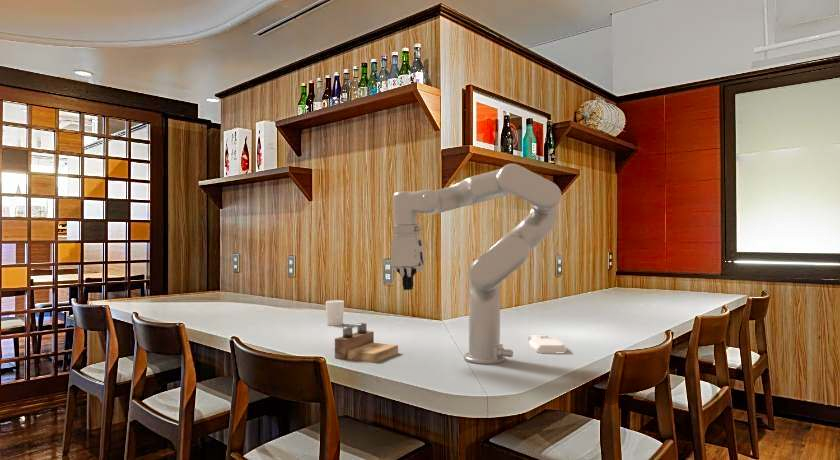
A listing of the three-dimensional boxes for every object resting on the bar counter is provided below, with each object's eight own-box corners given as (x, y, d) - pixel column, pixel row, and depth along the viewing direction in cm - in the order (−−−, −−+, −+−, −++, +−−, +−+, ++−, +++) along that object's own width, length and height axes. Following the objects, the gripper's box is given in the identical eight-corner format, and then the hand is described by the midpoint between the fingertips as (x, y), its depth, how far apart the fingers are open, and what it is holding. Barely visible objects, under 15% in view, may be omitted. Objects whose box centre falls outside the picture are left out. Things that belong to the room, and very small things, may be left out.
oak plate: (397, 354, 170) (397, 345, 170) (374, 364, 158) (374, 354, 158) (372, 351, 175) (372, 342, 175) (347, 360, 162) (347, 350, 162)
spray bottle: (535, 354, 170) (521, 340, 194) (569, 354, 170) (551, 340, 194) (535, 345, 170) (521, 332, 194) (569, 345, 170) (551, 332, 194)
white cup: (340, 326, 221) (340, 302, 221) (322, 325, 222) (322, 302, 222) (346, 323, 228) (346, 300, 228) (329, 322, 230) (329, 299, 230)
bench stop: (373, 349, 175) (373, 322, 176) (345, 359, 161) (345, 330, 161) (363, 348, 177) (363, 321, 177) (334, 357, 163) (334, 329, 163)
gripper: (432, 230, 164) (434, 288, 164) (391, 232, 171) (393, 288, 171) (421, 230, 157) (424, 291, 157) (379, 232, 164) (381, 290, 164)
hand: (408, 289), depth 164 cm, fingers closed
